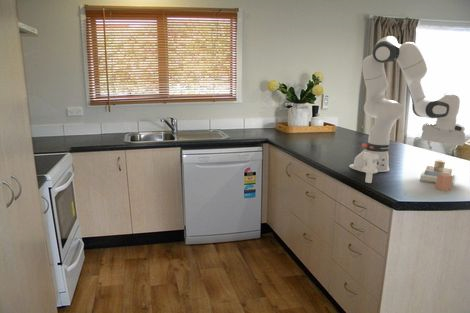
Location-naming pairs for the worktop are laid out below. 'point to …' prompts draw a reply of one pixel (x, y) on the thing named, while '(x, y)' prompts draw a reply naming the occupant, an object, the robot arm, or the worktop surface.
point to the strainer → (370, 165)
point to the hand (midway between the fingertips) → (439, 151)
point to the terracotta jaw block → (443, 181)
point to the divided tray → (433, 174)
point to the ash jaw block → (439, 165)
